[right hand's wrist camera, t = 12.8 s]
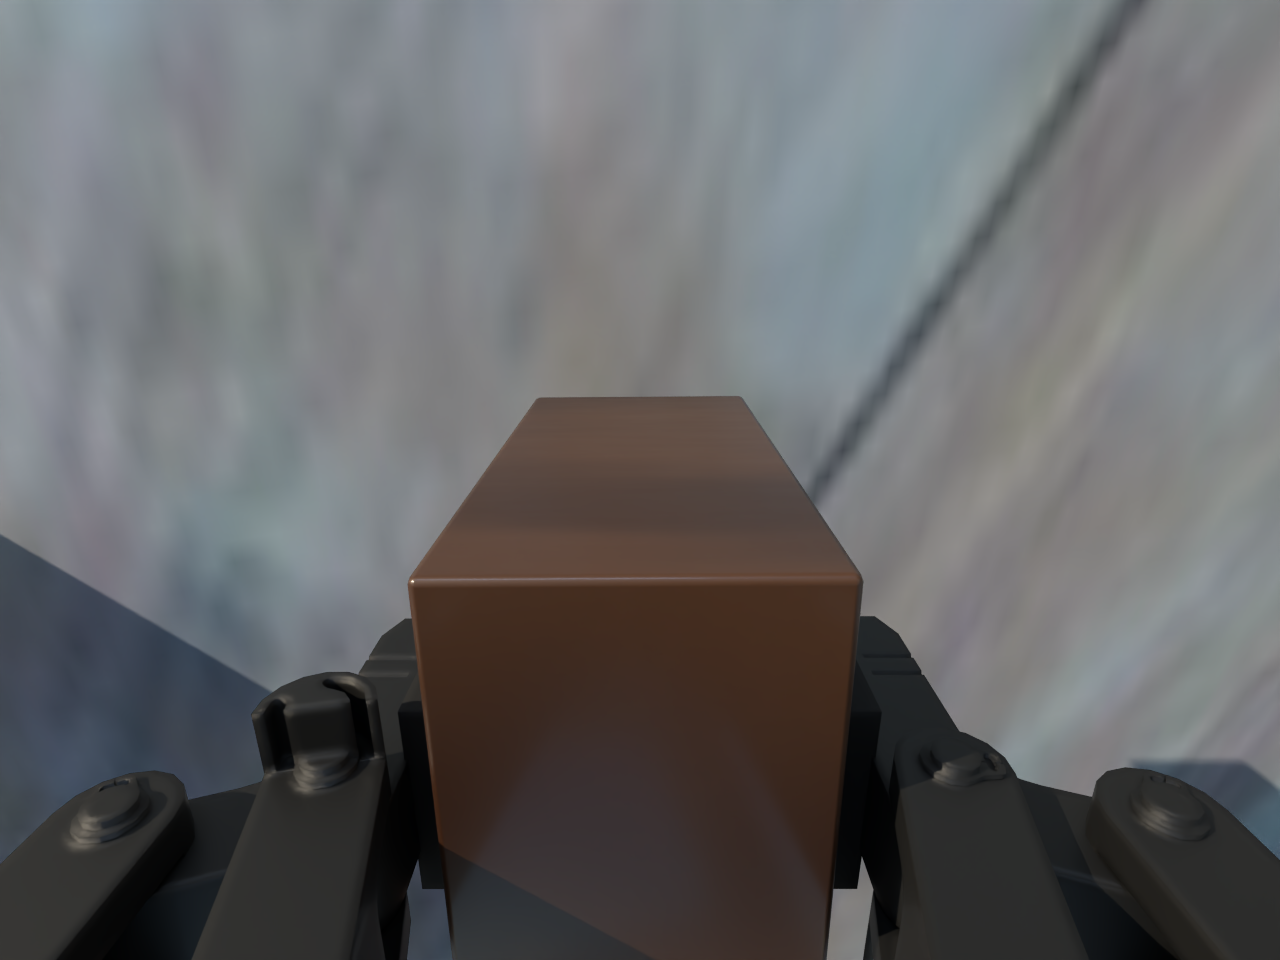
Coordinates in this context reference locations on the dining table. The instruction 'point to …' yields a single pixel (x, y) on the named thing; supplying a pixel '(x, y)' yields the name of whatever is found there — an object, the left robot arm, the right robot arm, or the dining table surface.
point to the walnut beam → (637, 690)
